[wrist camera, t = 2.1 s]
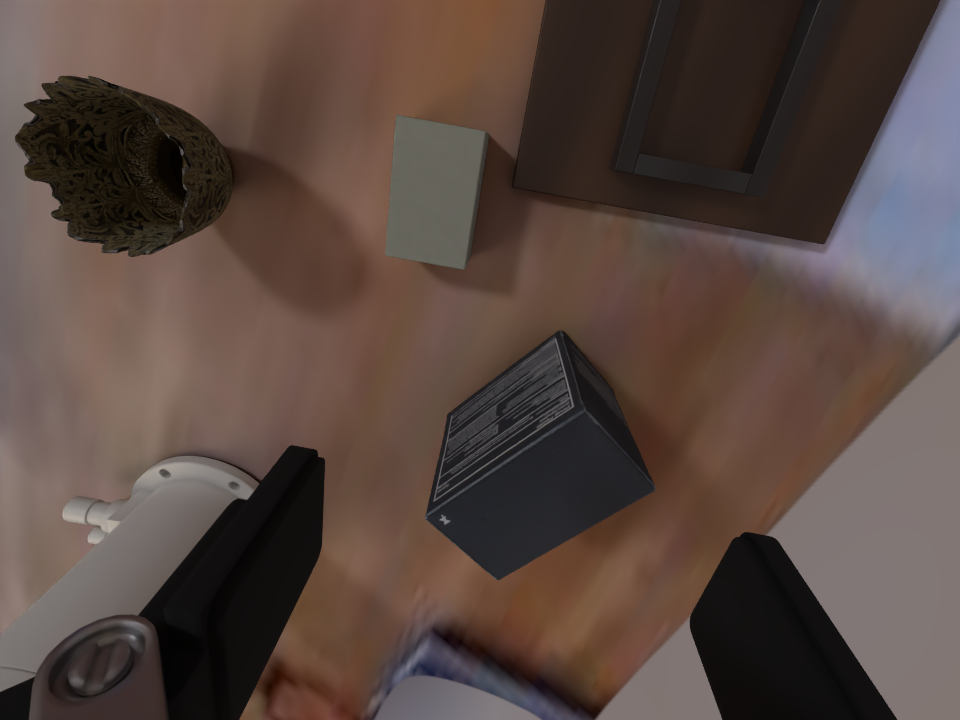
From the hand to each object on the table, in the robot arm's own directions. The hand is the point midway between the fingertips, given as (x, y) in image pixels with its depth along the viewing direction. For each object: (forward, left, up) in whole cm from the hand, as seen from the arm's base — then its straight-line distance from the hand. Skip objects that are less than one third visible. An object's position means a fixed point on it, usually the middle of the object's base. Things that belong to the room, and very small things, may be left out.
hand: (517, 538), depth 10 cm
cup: (-19, +4, -21) cm, 29 cm away
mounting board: (+8, +13, -21) cm, 26 cm away
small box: (+3, -8, -21) cm, 22 cm away
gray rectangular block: (-5, +5, -21) cm, 22 cm away
